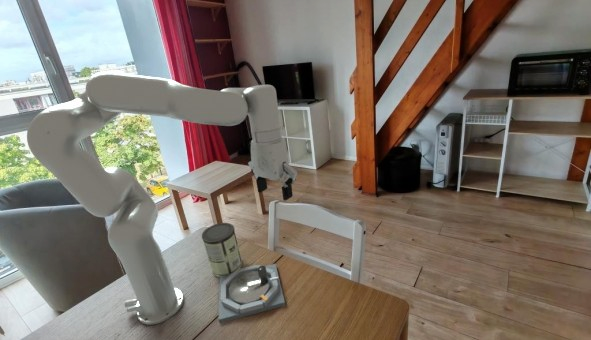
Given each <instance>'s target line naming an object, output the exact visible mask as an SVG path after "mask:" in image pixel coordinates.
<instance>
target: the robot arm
mask: <svg viewBox="0 0 591 340" xmlns="http://www.w3.org/2000/svg"><path fill="white" fill-rule="evenodd" d="M277 97H278V96H277V90H276V88H275V86H273V85H271V84H257V85H253V86H249V87H227V88H223V89H221V90H215V89H207V88H199V87H194V86H189V85H186V84H182V83H180V82H178V81H176V80H173V79H170V78H164V77H155V76H146V75H138V74H137V75H136V74H131V73H128V72H126V71H123V70H116V69H115V70H114V69H113V70H105V71H99V72H96V73H94V74H92V75H91V76H90V77H89V78H88V80H87V81H86V84H85V91H84V92H82V93H81V94H80V95H78V96H77V97H75V98H74V99H72V100H70V101H67V102H62V103H57V104H55V105H52V106H49V107H47V108H45V109H44V110H42V111H40V112H39V113H37V115H35V117H33V119H32V120H31V122H30V123H29V126H28V127H27V128H28V129H27V132H26V142H27V146H28V148H29V150H30V152H31V154H32V155H33V156H34V158H35V159H36V160H37V161H38V162H39V163H40V164H41V165H42V166H43V167H44V168H45V169H46V170H47V171H49V172H50V173H51V174H52V176H54V177H55V178H56V179H57V180H58V181H59V183H61V184H62V186H63V187H64V188H65V189H66V190H67V191H68V193H70V194H71V196H72V197H73V198H75V200H76V201H77V202H78V203H79V204H80V205H81V206H82V207H83V208H84V209H85V211H86V212H88V213H90V215H93V216H94V217H98V218H108V217H110V216H112V215H114V214H115V213H117V212H118V213H117V214H116V215H115V217H114V219H113V220H112V222H111V224H110V226H109V228H108V232H107V240H108V244H109V245H110V247H111V249H112V251H114V253H115V254H116V255H117V257H118V260H119V261H120V263H121V265H122V267H123V270H124V271H125V274H126V277H127V278H128V281H129V283H130V286H131V288H132V290H133V293H134V294H135V296H136V297H135V298H133V299H127V300H125V301H124V307H125V308H126V312H127V313H131V312H135V311H136V316H137V318H138V321H139V322H140V323H142V324H143V325H151V326H152V325H156V324H157V325H158V324H160V323H163V322H165V321H167V320H168V319H170V318H172V317H173V316H175V314H176V313H177V312H178V311H180V309H181V308H182V306H183V304H184V300H185V299H184V294H183V291H181V289H179V288H177V287H175V286H174V283H173V281H172V277H171V275H170V272H169V270H168V266H167V263H166V260H165V257H164V255H163V253H162V249H161V247H160V246H159V243H157V241H156V239H155V238H154V235H153V231H154V228H155V224H156V222H157V219H158V215H159V210H158V206H157V204H156V202H155V201H154V199H152V197H151V196H150V195H149V194H148V192H147V191H146V190H145V188H144V187H143V186H142V185H141V183H140V182H139V181H138V180H137V179H136V177H135V176H134V175H133V174H132V173H131V172H129V171H128V170H127V169H125V168H123V167H119V166H106V167H103V166H102V165H101V164H100V162H99V161H98V159H96V157H94V156H93V155H92V154H91V153H90V152H88V151H87V150H85V149H84V148H82V147H81V146H80V143H81V142H82V140H85V139H86V138H88V137H90V136H91V135H93V134H95V133H96V132H98V131H100V130H101V129H102V128H104V127H105V126H106V125H107V124H108V123H110V122H111V121H113V120H114V119H115V118H117V117H118V116H119V115H121V114H132V115H145V116H152V117H153V116H154V117H155V116H156V117H165V118H170V119H174V120H179V121H182V122H183V121H184V122H188V123H192V124H193V123H194V124H201V125H211V126H225V127H232V126H237V125H240V124H241V123H242V122H244V121H245V119H246V118H247V116H248V121H249V126H250V133H251V138H252V140H251V141H250V159H251V160H250V161H249V162H247V164H248V167H249V168H250V173H252V174H253V178H254V179H255V180H256V189H257V192H258V193H262V192H264V191H266V190H267V189H268V183H267V180H270V181H275V182H277V181H279V182H280V183H281V185H282V186H281V192H282V199H283V201H287V200H290V199H291V198H292V197H293V196H294V195H293V188H292V187H293V185H292V184H294V183H295V181H296V179H297V175H298V171H297V170H296V169H295V168H294V167H292V166H291V165H290V162H289V157H288V153H287V149H286V145H285V142H284V139H282V138H283V137H282V130H281V129H282V128H281V122H280V112H279V106H278V105H279V103H278V98H277ZM284 178H285V179H284Z"/></svg>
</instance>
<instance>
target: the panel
mask: <svg viewBox="0 0 591 340" xmlns="http://www.w3.org/2000/svg"><path fill="white" fill-rule="evenodd" d="M260 266H261V265H260V264H258V265H257V264H254V265H250V266H246V267H243V268H242V267H241V268H240V269H238V271H237V270H236V271H235V272H233V273H232V274H230V275H226V276H222V277H219V293H218V294H219V295H218V323H220V324H221V323H224V322H228V321H232V320H235V319H238V318H239V319H240V318H242V317H247V316H251V315H255V314H258V313H263V312H265V311H270V310H273V309H277V308H281V307H285V306H286V301H285V298H284V294H283V289H282V286H281V281H280V277H279V273H278V269H277V264H276V263H273V264H268V265H264V266H265V267H266V272H267V277H268V278H269V282H270V289H269V291H268V293H267V294H266V295H265V296H264V295H261V296H260V297H261V298H262V299H261V300H259V301H255V302H252V303H248V304H244V305H240V304H237V303H235V302H233V301H232V299H231V298H230V295H229V286H230V284H231V283H232V281H233V280H234V279H235V278H236V277H238V276H239V275H241V274H244V273H246V272H251V271H258V267H260Z"/></svg>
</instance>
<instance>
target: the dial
mask: <svg viewBox="0 0 591 340" xmlns="http://www.w3.org/2000/svg"><path fill="white" fill-rule="evenodd" d="M265 266H266V265H260V267H258V271H251V272H246V273H244V274H241V275H239V276H238V277H236V278H235V279H234V280H233V281H232V283H231V284H230V286H229V295H230V298H231V299H232V301H233V302H235V303H237V304H240V305H244V304H248V303H252V302H255V301H259V300H261V299H262V298H261V297H260V296H261V295H264V296H265V295H266V294H267V293H268V291H269V289H270V282H269V278H268V277H267V272H266V267H265Z"/></svg>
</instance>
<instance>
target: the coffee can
mask: <svg viewBox="0 0 591 340" xmlns="http://www.w3.org/2000/svg"><path fill="white" fill-rule="evenodd" d="M235 232H236V231H235V226H234V225H233V224H231V223H228V222H220V223H216V224H212V225H211V226H209V227H207V228H206V229H204V230H203V232H202V234H201V239H202V241H203V245H204V248H205V251H206V255H207V258H208V263H209V266H210V269H211V273H212V275H213V276H215V277H218V278H220V277H222V276H226V275H230V274H232V273H233V272H235V271H236V270H237V271H238V269H241V268H242V266H243V260H242V258H241V254H240V248H239V245H238V241H237V236H236V233H235Z"/></svg>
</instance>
